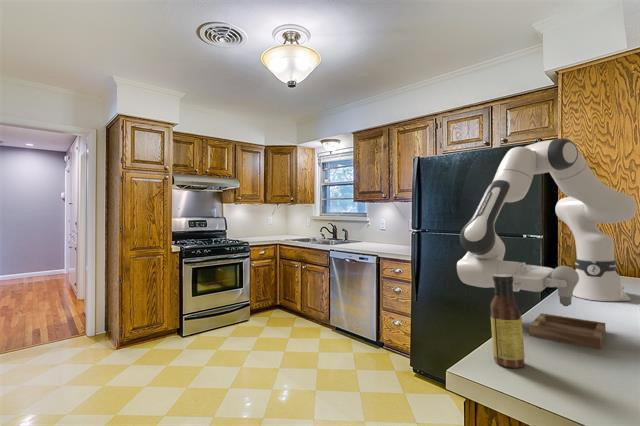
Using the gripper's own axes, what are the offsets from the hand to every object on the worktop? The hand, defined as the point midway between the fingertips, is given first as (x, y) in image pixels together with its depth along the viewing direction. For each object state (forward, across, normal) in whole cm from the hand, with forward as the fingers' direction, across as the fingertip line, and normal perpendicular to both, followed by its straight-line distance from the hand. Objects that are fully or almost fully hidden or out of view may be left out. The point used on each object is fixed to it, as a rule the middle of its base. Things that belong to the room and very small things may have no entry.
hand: (569, 281), depth 91 cm
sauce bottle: (-8, -29, +15) cm, 33 cm away
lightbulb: (-1, 0, +7) cm, 7 cm away
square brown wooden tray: (-1, 0, +14) cm, 14 cm away
